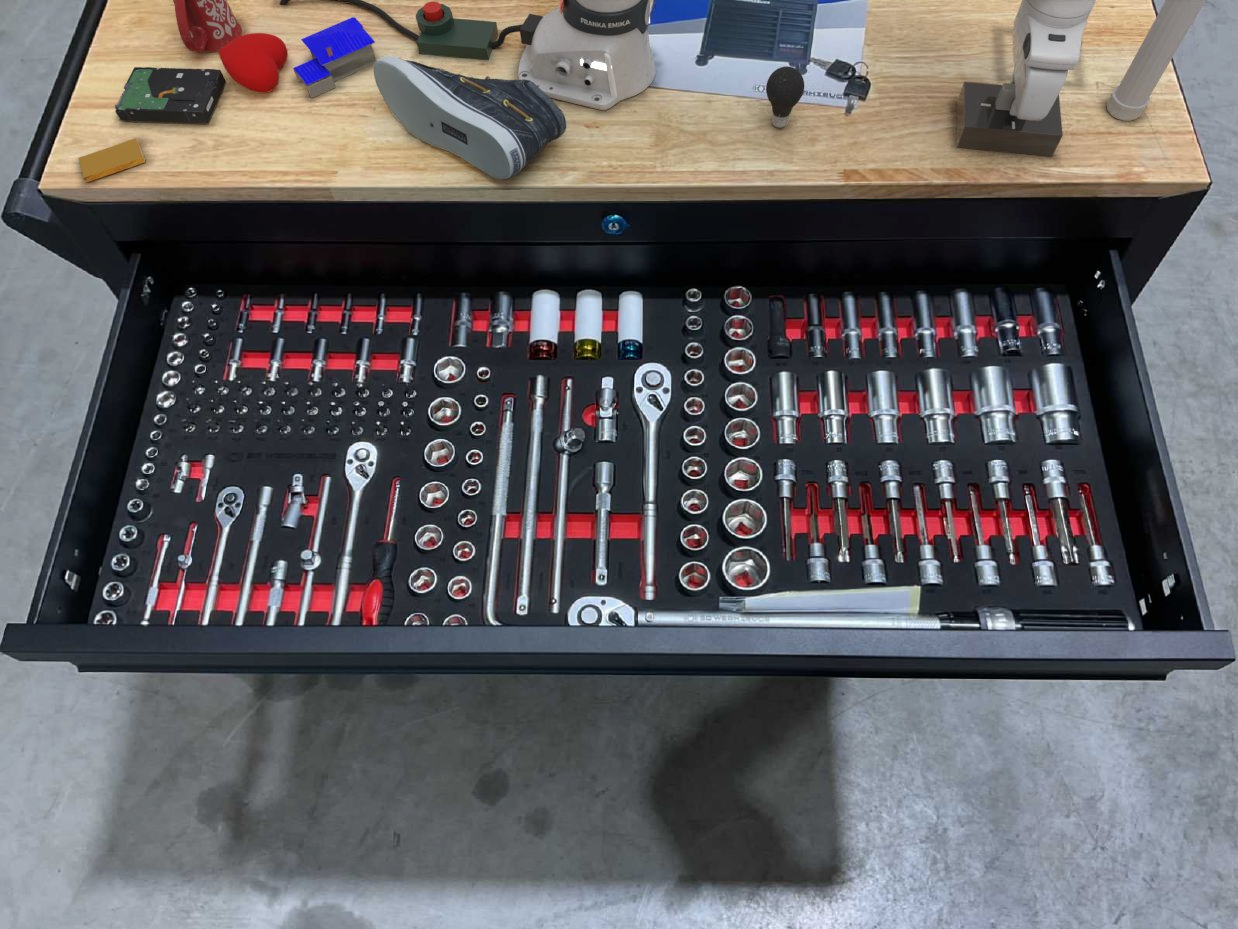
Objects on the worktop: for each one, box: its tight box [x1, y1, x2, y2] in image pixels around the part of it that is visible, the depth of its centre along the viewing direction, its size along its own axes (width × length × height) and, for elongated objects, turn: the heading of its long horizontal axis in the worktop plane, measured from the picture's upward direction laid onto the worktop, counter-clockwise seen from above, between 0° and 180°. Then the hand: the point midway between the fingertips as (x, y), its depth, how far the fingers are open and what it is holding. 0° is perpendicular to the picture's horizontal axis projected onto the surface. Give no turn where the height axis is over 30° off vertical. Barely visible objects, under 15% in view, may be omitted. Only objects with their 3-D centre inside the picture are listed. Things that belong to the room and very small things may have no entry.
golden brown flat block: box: [77, 137, 146, 183], centre depth 139 cm, size 9×1×5 cm
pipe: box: [1106, 0, 1207, 122], centre depth 126 cm, size 6×6×30 cm
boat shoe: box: [372, 55, 567, 180], centre depth 137 cm, size 11×30×14 cm
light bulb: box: [765, 65, 805, 129], centre depth 135 cm, size 6×6×10 cm
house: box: [292, 16, 377, 99], centre depth 147 cm, size 11×14×6 cm
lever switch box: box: [955, 81, 1063, 158], centre depth 136 cm, size 14×10×4 cm
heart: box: [218, 32, 289, 94], centre depth 146 cm, size 12×5×10 cm
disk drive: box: [114, 66, 227, 125], centre depth 145 cm, size 10×3×15 cm
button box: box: [415, 3, 499, 61], centre depth 149 cm, size 13×8×4 cm, turn 80°
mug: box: [172, 0, 243, 53], centre depth 147 cm, size 13×9×14 cm
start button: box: [422, 0, 443, 21], centre depth 148 cm, size 3×3×2 cm
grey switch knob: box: [995, 82, 1016, 111], centre depth 132 cm, size 5×2×4 cm, turn 80°
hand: (1014, 102), depth 133 cm, fingers open, 3 cm apart
